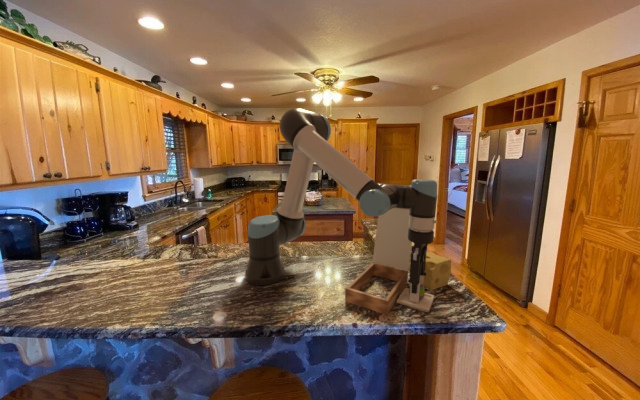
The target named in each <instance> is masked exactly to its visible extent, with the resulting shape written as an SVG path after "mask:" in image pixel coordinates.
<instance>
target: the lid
mask: <svg viewBox="0 0 640 400" xmlns="http://www.w3.org/2000/svg"><path fill="white" fill-rule="evenodd" d="M409 213H410V209H404V208H392V209H390V210H388V211H387V212H386V213H384V214H383V215H380V216H377V225H376V233H375V239H374V240H375V241H374V248H373V249H374V250H373V256H372V262H371V264H372V263H375V264H379V265H383V266H387V267H393V268H396V269H400V270H405V271H408V272H410V259H411V256H410V255H411V253H412V247H413V246H412V245H413V242H411V241H409V240H408V229H409V228H410V227H409V226H408V225H409Z"/></svg>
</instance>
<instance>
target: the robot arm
mask: <svg viewBox="0 0 640 400" xmlns="http://www.w3.org/2000/svg"><path fill="white" fill-rule="evenodd" d="M331 127H332V126H331V124H330V122H329V120H328V118H327V117H326V116H324V115H323V114H321V113H318V112H314V111H310V110H306V109H303V108H290V109H288V110H287V111H285V112H284V114H283V115H282V116H281V118H280V121H279V132H280V134H281V136H282V138H283V139H284V140H285V141H286V142H287V144H289V145H290V147H292V149H293V154H292V158H291V162H290V166H289V171H288V173H287V174H288V175H287V179H286V185H285V189H284V192H283V193H284V194H283V197H282V201H281V205H279V206H278V207H277V208H276V212H275V215H273V214H265V215H258V216H255V217H254V218H252V219H250V220H249V222H248V226H247V228H248V229H247V238H248V255H249V256H248V257H249V259H248V262H247V265H246V269H245V277H244V278H245V281H246V282H247V283H249V284H250V285H254V286H255V285H256V286H268V285H269V286H270V285H273V284H276V283H279V282H281V281H282V280H283V279H284V278H285V274H286V273H285V271H286V270H285V267H284V265H283V261H282V258H281V253H280V252H281V249H280V248H281V246H283V245H285V244H288V243H289V242H292V241H295V240H297V239H298V238H300V237H301V236H302V235H304V234H305V230H306V226H307V222H306V221H305V213H304V212H303V210H302V209H303V207H304V201H305V198H306V194H307V190H308V186H309V182H310V178H311V174H312V170H313V167H314V163H315V164H316V165H317V166H318V168H320V169H322V171H323V172H324V173H326V174H327V175H328V176H329V177H331V179H332V180H334V181H335V182H336V183H337V184H338V185H340V187H341V188H343V189H344V190H345V191H346V192H347V193H348V194H349V195H351V196H352V197H353V198H354V199H355V200H356V201H358V203H359V207H360V210H361V212H362V213H363V214H364V215H366V216H368V217H371V218H374V217H375V218H376V217H378V216H380V215H383V214H384V213H386V212H387V211H388V210H390V209H392V208H404V209H410V213H409V225H408V226H409V227H410V228H409V229H408V240H409V241H411V242H412V244H413V246H412V247H411V255H410V259H411V264H410V263H409V279H408V280H407V283H410V285H409V287H410V299H409V301H413V302H416V303H418V302H419V291H420V283H421V284H422V285H423V279H424V276H422V275H425V276H426V273H425V272H424V271H425V265H426V252H428V246H429V244H430V245H431V244H432V243H434V235H435V234H434V233H435V232H434V229H435V224H437V223H438V221H437V220H436V213H437V212H436V210H437V202H438V182H437V181H436V180H434V179H427V178H426V179H425V178H424V179H421V178H419V179H418V178H417V179H412V180H411V183H410V184H406V185H405V184H394V183H393V184H392V183H387V182H386V183H378V182H376V181H375V180H374V179H373V178H371V176H369V175H368V174H367V173H366V172H364V171H363V170H362V168H360V167H359V166H357V165H356V164H355V163H354V162H352V161H351V160H350V159H349V158H348V157H347V156H346V155H344V154H343V153H342V152H340V150H338V149H337V148H335V147H334V146H333V145H332V144H331V143H330V142H328V141H329V139H330V138H331V133H332V132H331V131H332V129H331Z"/></svg>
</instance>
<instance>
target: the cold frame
mask: <svg viewBox="0 0 640 400" xmlns="http://www.w3.org/2000/svg"><path fill="white" fill-rule="evenodd" d="M373 276H376V277H379V278H383V279H388V280H390V281H391V280H392V281H394V282H395V281H396V283H395V285H394V286H393V287H392V288H391V291H390V292H389V294H388V295H387V296H386V297H385V298H384V297H380V296H378V295H374V294H371V293H367V292H364V291H361V289H362V288H363V287H364V286H365V285H366V284H367V282H369V280H370V279H371V278H373ZM408 277H409V271H406V270H401V269H397V268H393V267H389V266H384V265H380V264H376V263H372V262H371V263H370V265H368V266H367V267H366V268H365V269H364V270H363V271H362V272H361V273H359V275H358V276H357V277H356V278H355V279H354V280H352V281H351V282H350V283H349V285H347V287H345V289H344V290H345V292H344V302H347V303H349V304H352V305H356V306H359V307H361V308H365V309H367V310H371V311H373V312H376V313H380V314H383V315H385V316H388V314H389V313H390V311H391V310H392V308H393V306H394V305H395V303H397V300H398V298H399V297H400V295H401V293H402V292H403V290H404V289H405V288H406V285H407V284H408V280H409V279H408Z"/></svg>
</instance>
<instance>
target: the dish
mask: <svg viewBox="0 0 640 400" xmlns="http://www.w3.org/2000/svg"><path fill="white" fill-rule="evenodd" d="M409 299H410V295H409V287H404V289H403V290H402V292H401V294H400V295H399V297H398V298H397V300H396V303H397V304H400V305H403V306H406V307H409V308H410V307H411V308H412V309H416V310H420V311H422V312H426V313H430V310H431V308H432V305H433V303H434V299H435V294H430V293H427V292H425V295H424V298H423V299H422V300H421V301H419V302H418V303H416V302H413V301H409Z"/></svg>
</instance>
